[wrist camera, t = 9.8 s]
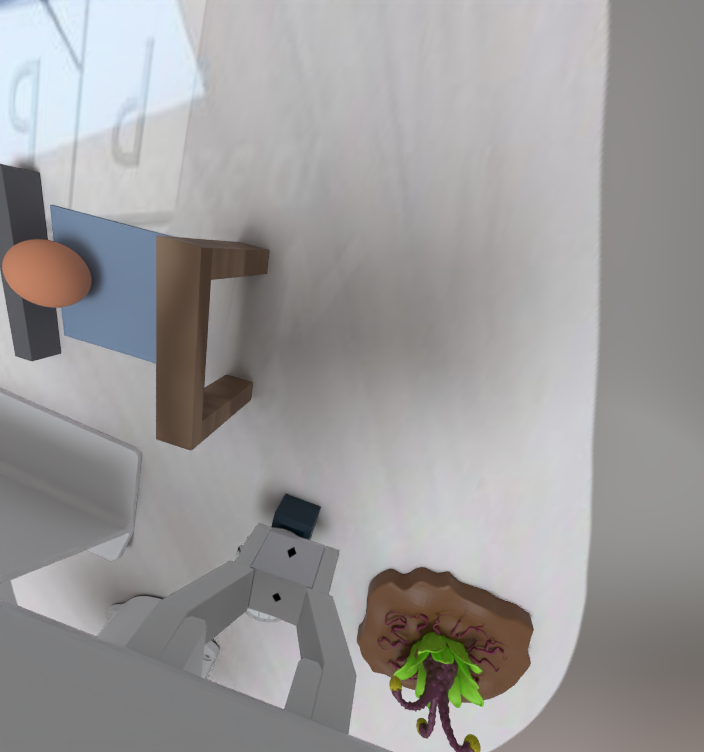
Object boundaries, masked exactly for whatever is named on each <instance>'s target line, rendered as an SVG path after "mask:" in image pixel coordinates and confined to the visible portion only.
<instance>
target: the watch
mask: <svg viewBox="0 0 704 752" xmlns="http://www.w3.org/2000/svg"><path fill="white" fill-rule="evenodd" d="M320 508H321V507H320V506H317V505H315V504H312V503H310V502H307V501H304V500H302V499H299V498H296V497H294V496H291V495H288V494H285V496H284V498H283V500H282V501H281V503H280V505H279V507H278V508H277V510H276V512H275V515H274V519H273V523H272V526H271V527H272V528H275V529H278V530H281V531H283V532H286V533H289V534H291V535H294V536H297V537H301V538H304V539H308V540H310V539H311V536H312V533H313V529H314V526H315V523H316V520H317V517H318V514H319V511H320ZM249 537H250V536H249ZM249 537H247V539H246V541H245V543H246V542H247V540H248V538H249ZM245 543H244V545H245ZM243 547H244V546H242V545H241V546H239V548H238V551H237V556H236V558H237V557H238V555H239V553H240V552H241V550H242V548H243ZM244 614H245V615H248V616H250V617H252V618H255V619H256V620H259V621H265V622H274V621H280V620H281V619H278V618H276V617H273V616H271V615H268V614H265V613H262V612H260V613H259V612H258V611H255V610H252V609H249V608H248V609H247V611H245V612H244Z"/></svg>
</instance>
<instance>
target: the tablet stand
mask: <svg viewBox="0 0 704 752" xmlns="http://www.w3.org/2000/svg"><path fill="white" fill-rule="evenodd" d="M141 461H142V453H141V451H140V450H139V449H138V448H136V447H133V446H131V445H129V444H127V443H124V442H122V441H120V440H118V439H115V438H113V437H111V436H108V435H106V434H104V433H102V432H99V431H97V430H95V429H92V428H90V427H88V426H86V425H83V424H81V423H79V422H77V421H74V420H72V419H70V418H67V417H65V416H63V415H61V414H58V413H56V412H54V411H51V410H49V409H47V408H45V407H42V406H40V405H38V404H36V403H33V402H31V401H29V400H26V399H24V398H22V397H20V396H17V395H15V394H13V393H11V392H8V391H6V390H4V389H1V388H0V584H1V583H4V582H7V581H9V580H12V579H14V578H17V577H19V576H22V575H24V574H27V573H29V572H32V571H34V570H37V569H39V568H42V567H44V566H47V565H49V564H52V563H54V562H57V561H59V560H62V559H64V558H67V557H69V556H72V555H74V554H77V553H79V552H82V551H84V550H87V551H90V552H92V553H94V554H96V555H98V556H100V557H103V558H105V559H107V560H109V561H114V560H116V559H118V558H120V557H121V556H122V554H123V552H124V550H125V548H126V546H127V545H128V543H129V541H130V539H131V537H132V535H133V531H134V523H135V514H136V505H137V496H138V487H139V478H140V470H141Z"/></svg>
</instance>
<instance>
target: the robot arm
mask: <svg viewBox="0 0 704 752" xmlns="http://www.w3.org/2000/svg"><path fill="white" fill-rule="evenodd" d="M338 556H339V550H337V549H334V548H331V547H328V546H326V547H325V545H323V544H320V543H317V542H314V541H311V540H308V539H304V538H301V537H297V536H294V535H291V534H289V533H286V532H283V531H281V530H278V529H275V528H272V527H269V526H267V525H264V524H261V523H259V524H258V525H257V526H256V527H255V529H254V530H253V532H252V534H251V535H250V537H249V538H248V540H247V542H246V543H245V545H244V547H243V548H242V550H241V552H240V553H239V555H238V557H237V558H236V560H235V562H233V561H229V562H227V563H225V564H223V565H222V566H220V567H218V568H216V569H215V570H213V571H211V572H209V573H208V574H206V575H204V576H203V577H201V578H199V579H197V580H196V581H194V582H192V583H190V584H189V585H187V586H185V587H183V588H182V589H180V590H178V591H176V592H175V593H173V594H171V595H169V596H168V597H166V598H164V599H158V598H155V597H149V596H138V597H134V598H132V599H130V600H128V601H127V602H126V603H124V604H115V605H112V606H111V607H110V609H109V610H108V611H107V617H108V620H109V621H108V622H107V623H106V625H105V626H104V627H103V629H102V630H101V631H100V633H99V634H98V635H97V636H94V635H92V634H89V633H87V632H84V631H81V630H79V629H76V628H74V627H71V626H69V625H66V624H63V623H61V622H58V621H56V620H53V619H51V618H48V617H46V616H43V615H40V614H38V613H35V612H33V611H30V610H28V609H25V608H22V607H20V606H17V605H15V604H12V603H10V602H7V601H4V600H2V599H0V752H392V751H390V750H387V749H385V748H382V747H379V746H377V745H374V744H372V743H369V742H367V741H364V740H361V739H359V738H356V737H354V736H351V735H349V734H348V732H349V725H350V718H351V711H352V704H353V697H354V690H355V683H356V672H355V669H354V666H353V663H352V659H351V656H350V653H349V649H348V646H347V643H346V639H345V636H344V633H343V629H342V626H341V623H340V619H339V616H338V613H337V610H336V606H335V603H334V600H333V597H332V596H330V595H329V591H330V587H331V583H332V579H333V575H334V571H335V568H336V564H337V560H338ZM248 608H249V609H252V610H255V611H258V612H262V613H265V614H268V615H271V616H273V617H276V618H278V619H281V620H283V621H286V622H288V623H291V624H293V625H296V626H297V634H298V641H299V648H300V655H301V660H300V661H299V662H298V666H297V669H296V672H295V676H294V679H293V682H292V685H291V689H290V692H289V695H288V699H287V702H286V705H285V708H284V709H282V708H279V707H277V706H274V705H272V704H269V703H267V702H264V701H261V700H259V699H256V698H254V697H251V696H249V695H246V694H243V693H241V692H238V691H236V690H233V689H231V688H228V687H225V686H223V685H220V684H218V683H215V682H213V681H210V680H208V679H205V678H206V676H207V674H208V672H209V670H210V668H211V666H212V664H213V661H214V659H215V657H216V655H217V653H218V651H219V648H218V646H217V645H216V644H215V643H214V642H213V641H212V639H213V638H214V637H215V636H217V635H218V634H219V633H220V632H221V631H223V630H224V629H225V628H226V627H227V626H229V625H230V624H231V623H232V622H233V621H235V620H236V619H237V618H238V617H239V616H241V615H242V614H243V613H244V612H245V611H247V609H248Z"/></svg>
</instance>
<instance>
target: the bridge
mask: <svg viewBox="0 0 704 752" xmlns="http://www.w3.org/2000/svg"><path fill="white" fill-rule="evenodd" d="M268 258H269V250H266V249H262V248H258V247H254V246H251V245H247V244H243V243H239V242H229V241H217V240H204V239H192V238H179V237H167V236H156V439H157V440H160V441H163V442H166V443H169V444H172V445H176V446H179V447H182V448H185V449H188V450H193V449H194V448H195V447H196V446H197V445H198V444H200V443H201V442H202V441H203V440H204V439H206V438H207V437H208V436H209V435H210V434H211V433H213V432H214V431H215V430H216V429H217V428H218V427H220V426H221V425H222V424H223V423H224V422H225V421H227V420H228V419H229V418H230V417H231V416H232V415H234V414H235V413H236V412H237V411H238V410H240V409H241V408H242V407H243V406H244V405H245V404H247V403H248V402H249V401H250V400H251V394H252V386H253V383H252V382H248V381H245V380H242V379H239V378H235V377H232V376H229V375H225V376H223V377H221V378H220V379H218V380H217V381H215V382H213V383H212V384H210V385H208V386H207V387H205V388H204V383H205V366H206V350H207V334H208V318H209V302H210V286H211V280H214V279H223V278H232V277H241V276H250V275H259V274H267V266H268Z"/></svg>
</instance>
